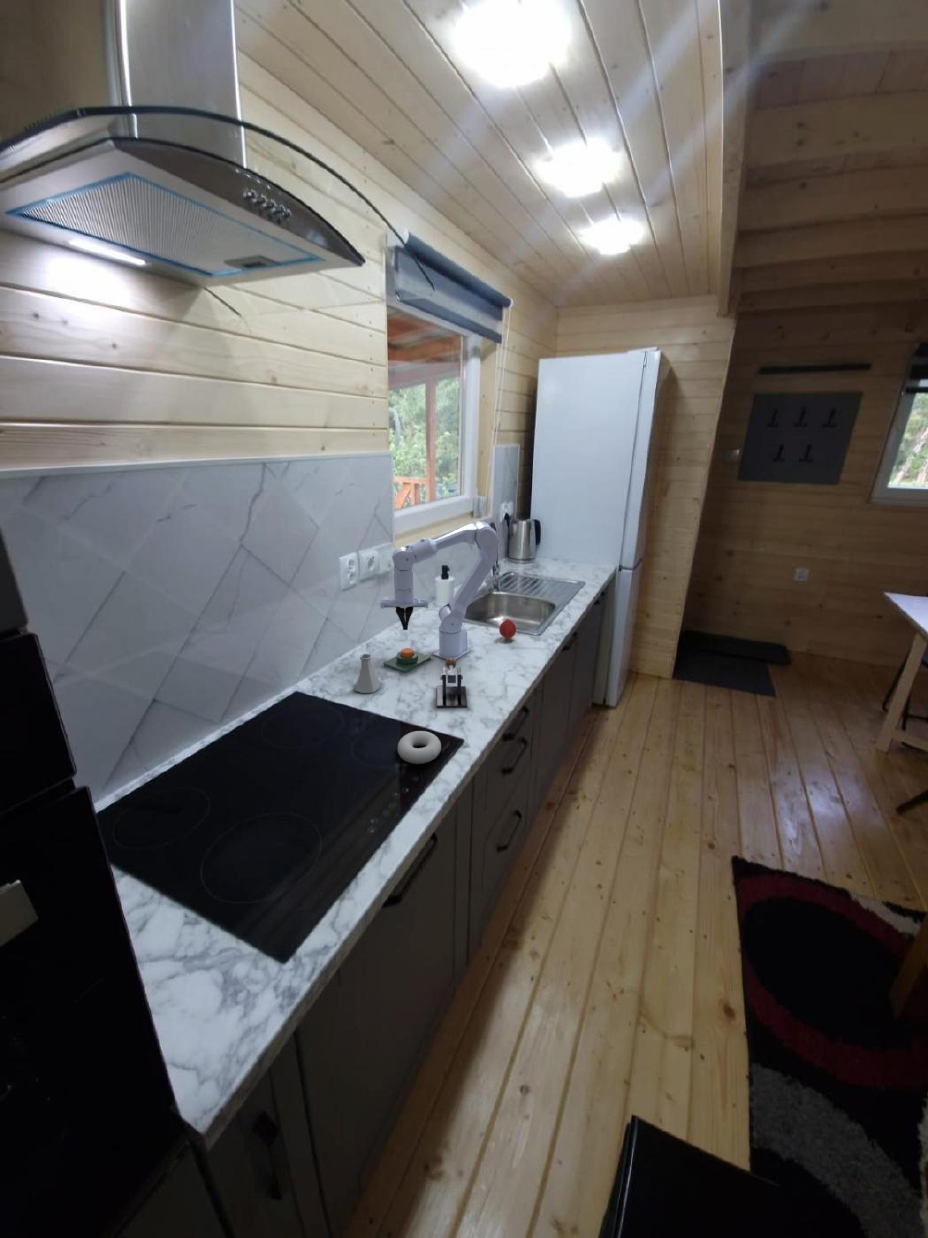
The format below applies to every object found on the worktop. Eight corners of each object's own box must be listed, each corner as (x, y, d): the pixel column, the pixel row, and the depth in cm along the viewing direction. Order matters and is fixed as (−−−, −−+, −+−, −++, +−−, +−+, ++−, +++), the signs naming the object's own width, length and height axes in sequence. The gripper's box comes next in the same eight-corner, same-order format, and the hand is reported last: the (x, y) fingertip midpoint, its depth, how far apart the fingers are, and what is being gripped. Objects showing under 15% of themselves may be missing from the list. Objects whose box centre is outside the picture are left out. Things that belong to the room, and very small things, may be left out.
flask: (375, 695, 137) (373, 663, 133) (350, 692, 138) (348, 660, 134) (384, 682, 143) (382, 651, 139) (360, 680, 144) (358, 649, 141)
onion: (499, 635, 175) (500, 614, 172) (515, 636, 174) (517, 615, 171) (498, 642, 170) (499, 620, 166) (515, 643, 169) (516, 621, 166)
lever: (445, 666, 142) (445, 656, 141) (456, 666, 142) (456, 656, 141) (445, 684, 132) (445, 674, 130) (457, 684, 132) (457, 673, 131)
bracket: (437, 690, 140) (436, 662, 136) (465, 689, 140) (465, 662, 137) (436, 709, 130) (436, 680, 127) (467, 709, 131) (467, 679, 127)
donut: (410, 736, 119) (389, 760, 111) (409, 724, 118) (388, 747, 109) (448, 746, 116) (429, 771, 107) (448, 733, 115) (429, 758, 106)
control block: (409, 652, 162) (409, 644, 160) (430, 660, 157) (430, 651, 156) (383, 666, 153) (383, 657, 151) (405, 674, 148) (405, 665, 147)
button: (406, 652, 156) (406, 647, 155) (415, 655, 154) (415, 650, 153) (398, 656, 153) (398, 651, 153) (407, 659, 151) (407, 654, 151)
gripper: (378, 592, 146) (380, 634, 151) (427, 591, 146) (428, 633, 151) (380, 584, 152) (383, 625, 157) (428, 584, 153) (428, 624, 158)
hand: (405, 628), depth 155 cm, fingers closed
